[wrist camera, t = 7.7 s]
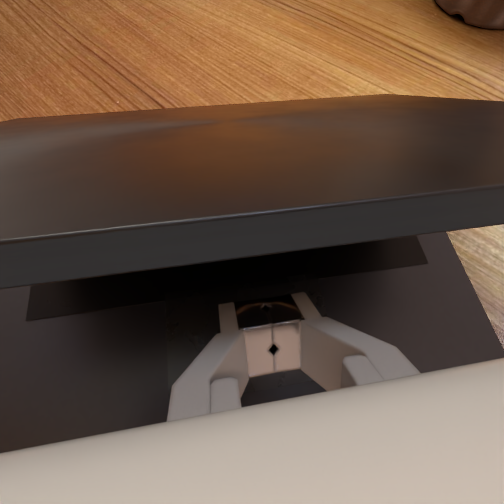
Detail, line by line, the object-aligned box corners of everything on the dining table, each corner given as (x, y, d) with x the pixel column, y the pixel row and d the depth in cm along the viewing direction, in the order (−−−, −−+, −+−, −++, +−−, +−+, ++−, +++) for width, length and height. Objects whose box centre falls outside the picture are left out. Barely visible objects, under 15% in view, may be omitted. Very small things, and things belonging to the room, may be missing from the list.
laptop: (488, 369, 18) (515, 368, 16) (-20, 468, 15) (-55, 481, 13) (375, 122, 27) (385, 104, 25) (37, 148, 23) (21, 130, 21)
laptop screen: (927, 174, 6) (978, 132, 6) (-1072, 439, 3) (-1338, 389, 2) (384, 105, 25) (386, 93, 24) (22, 131, 21) (16, 118, 21)
